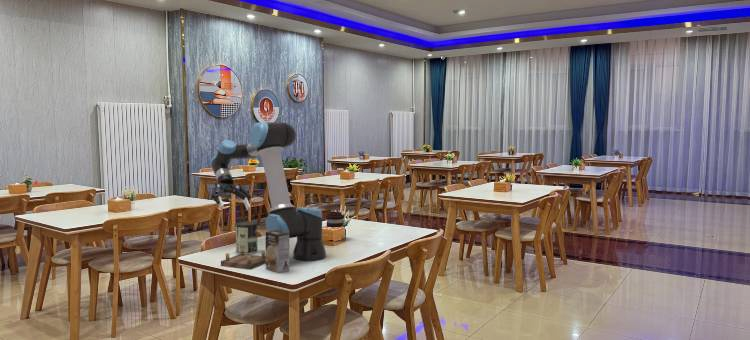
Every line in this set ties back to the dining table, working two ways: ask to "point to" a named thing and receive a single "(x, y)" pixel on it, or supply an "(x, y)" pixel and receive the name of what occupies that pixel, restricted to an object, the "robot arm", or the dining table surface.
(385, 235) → the dining table surface
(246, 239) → the coffee can
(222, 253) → the dining table surface
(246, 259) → the standoff plate
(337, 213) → the coffee cup
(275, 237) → the coffee box
